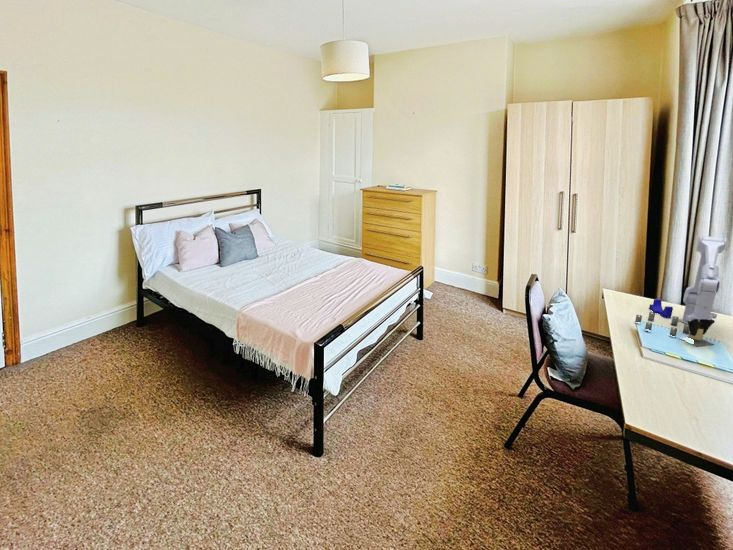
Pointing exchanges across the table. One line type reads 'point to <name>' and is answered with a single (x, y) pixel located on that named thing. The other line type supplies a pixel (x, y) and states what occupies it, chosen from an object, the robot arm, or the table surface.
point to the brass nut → (698, 334)
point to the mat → (701, 342)
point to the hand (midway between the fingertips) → (697, 334)
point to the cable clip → (658, 309)
